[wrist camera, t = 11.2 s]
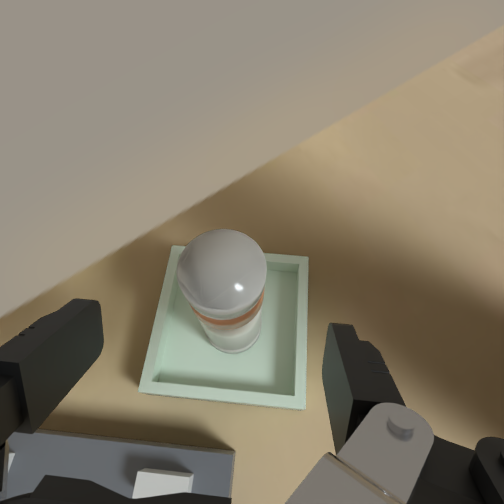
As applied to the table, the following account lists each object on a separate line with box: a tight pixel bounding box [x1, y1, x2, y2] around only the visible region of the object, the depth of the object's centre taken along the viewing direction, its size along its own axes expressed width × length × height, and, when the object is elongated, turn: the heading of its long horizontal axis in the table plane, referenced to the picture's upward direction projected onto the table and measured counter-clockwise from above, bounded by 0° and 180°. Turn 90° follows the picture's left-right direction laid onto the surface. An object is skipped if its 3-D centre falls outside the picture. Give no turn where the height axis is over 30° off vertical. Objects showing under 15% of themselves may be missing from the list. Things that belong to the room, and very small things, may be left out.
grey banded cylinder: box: [177, 229, 267, 354], centre depth 17 cm, size 4×4×9 cm
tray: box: [138, 245, 309, 411], centre depth 21 cm, size 9×9×2 cm
